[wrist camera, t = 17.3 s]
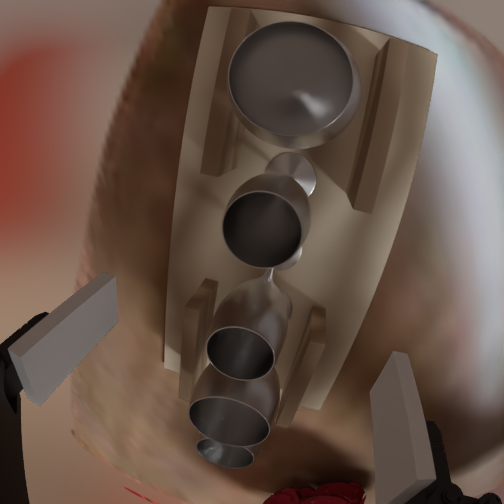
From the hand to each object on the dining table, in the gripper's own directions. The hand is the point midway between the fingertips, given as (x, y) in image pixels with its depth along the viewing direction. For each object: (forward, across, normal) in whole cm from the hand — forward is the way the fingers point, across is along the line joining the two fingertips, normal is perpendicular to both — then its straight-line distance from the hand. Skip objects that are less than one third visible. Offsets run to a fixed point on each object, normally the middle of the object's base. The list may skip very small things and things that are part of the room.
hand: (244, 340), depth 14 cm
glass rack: (+13, 0, 0) cm, 13 cm away
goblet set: (+13, 0, 0) cm, 13 cm away
